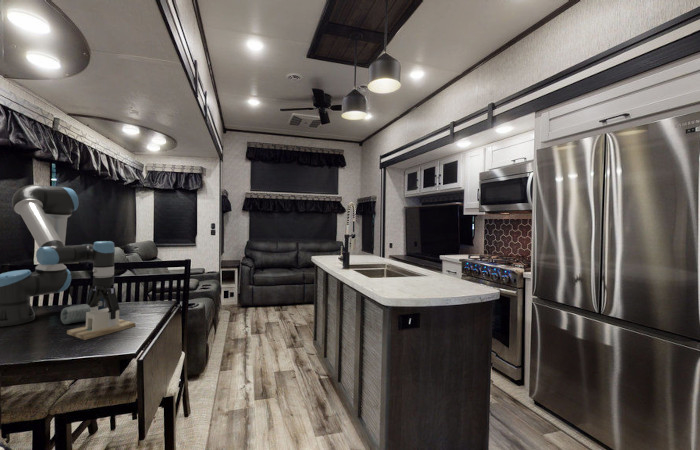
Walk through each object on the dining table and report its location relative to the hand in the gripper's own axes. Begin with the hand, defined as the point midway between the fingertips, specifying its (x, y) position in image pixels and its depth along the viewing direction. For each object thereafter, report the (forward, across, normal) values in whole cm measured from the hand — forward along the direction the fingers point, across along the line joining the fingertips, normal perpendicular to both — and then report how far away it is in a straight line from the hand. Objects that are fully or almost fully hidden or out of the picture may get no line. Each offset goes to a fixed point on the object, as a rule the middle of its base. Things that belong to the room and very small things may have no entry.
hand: (102, 323), depth 146 cm
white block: (+1, 0, 0) cm, 1 cm away
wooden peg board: (+3, 0, 0) cm, 3 cm away
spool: (+3, -21, +1) cm, 21 cm away
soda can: (+3, -34, +15) cm, 37 cm away
